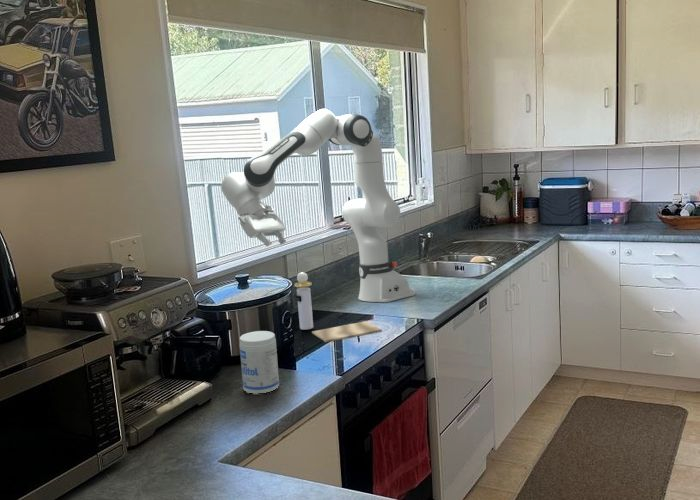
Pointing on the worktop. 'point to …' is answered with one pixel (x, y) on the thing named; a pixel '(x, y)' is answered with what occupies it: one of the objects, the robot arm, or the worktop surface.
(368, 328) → the mat
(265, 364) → the supplement tub
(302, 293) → the perfume bottle
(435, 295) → the worktop surface
